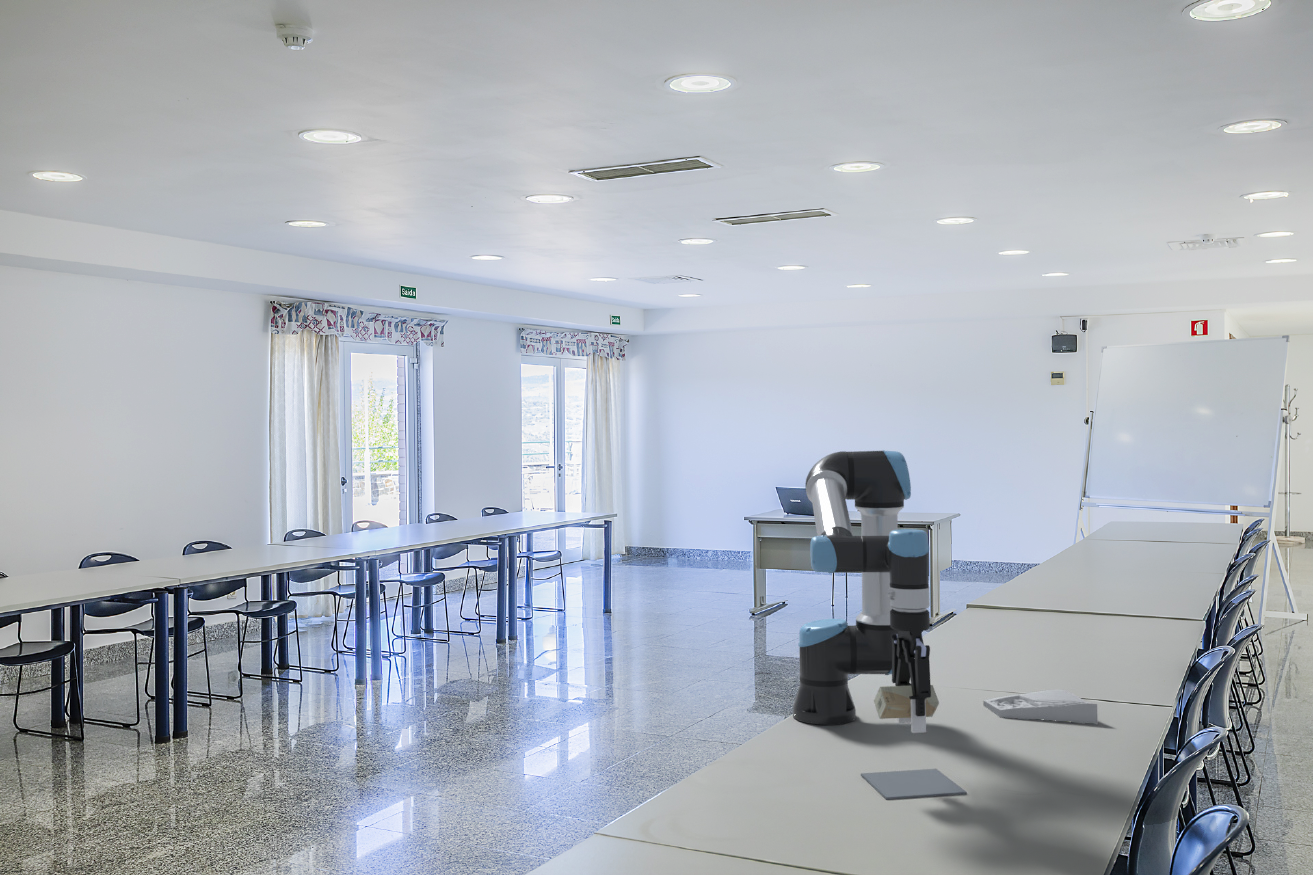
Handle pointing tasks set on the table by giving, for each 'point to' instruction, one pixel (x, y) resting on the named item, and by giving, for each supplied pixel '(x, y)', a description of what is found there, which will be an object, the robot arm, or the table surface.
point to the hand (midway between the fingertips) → (911, 726)
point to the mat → (912, 784)
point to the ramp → (1044, 706)
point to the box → (900, 702)
